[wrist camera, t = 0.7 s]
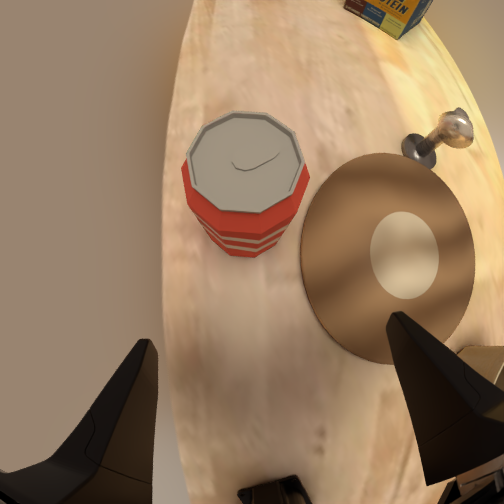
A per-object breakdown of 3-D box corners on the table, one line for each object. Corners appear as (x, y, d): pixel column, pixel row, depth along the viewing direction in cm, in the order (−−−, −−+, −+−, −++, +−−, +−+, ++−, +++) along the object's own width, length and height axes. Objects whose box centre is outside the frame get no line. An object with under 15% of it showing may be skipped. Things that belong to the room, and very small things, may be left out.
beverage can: (296, 232, 23) (343, 179, 11) (231, 272, 23) (215, 254, 11) (258, 175, 24) (268, 85, 12) (195, 211, 23) (152, 143, 11)
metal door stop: (404, 130, 25) (446, 84, 16) (434, 149, 25) (481, 111, 16) (398, 159, 25) (447, 114, 15) (430, 179, 24) (483, 143, 15)
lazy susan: (485, 304, 22) (490, 304, 22) (344, 398, 21) (347, 402, 20) (425, 142, 25) (429, 138, 24) (264, 189, 23) (265, 185, 22)
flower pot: (479, 396, 21) (524, 413, 13) (427, 419, 21) (473, 449, 12) (489, 325, 22) (540, 330, 14) (438, 341, 22) (496, 353, 14)
